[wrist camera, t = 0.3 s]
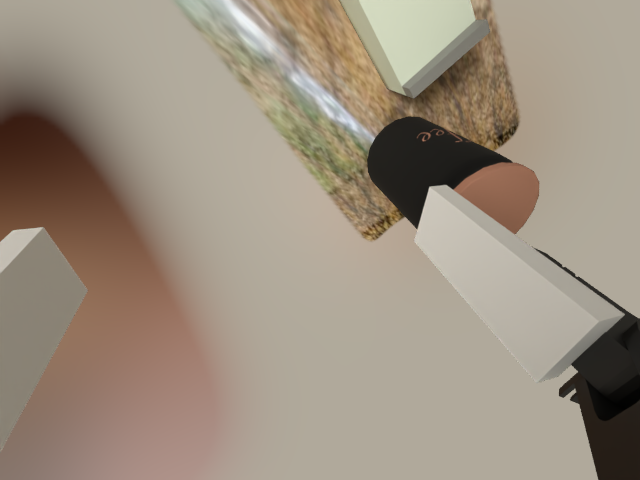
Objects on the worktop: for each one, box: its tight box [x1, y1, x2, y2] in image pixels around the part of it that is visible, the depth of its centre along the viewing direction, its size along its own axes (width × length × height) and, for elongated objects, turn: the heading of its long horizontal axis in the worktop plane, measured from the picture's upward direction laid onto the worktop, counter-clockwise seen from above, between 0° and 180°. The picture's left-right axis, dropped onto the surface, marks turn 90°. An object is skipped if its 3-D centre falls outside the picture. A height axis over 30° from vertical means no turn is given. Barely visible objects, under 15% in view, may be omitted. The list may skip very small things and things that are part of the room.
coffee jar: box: [367, 117, 539, 234], centre depth 33 cm, size 11×11×18 cm
